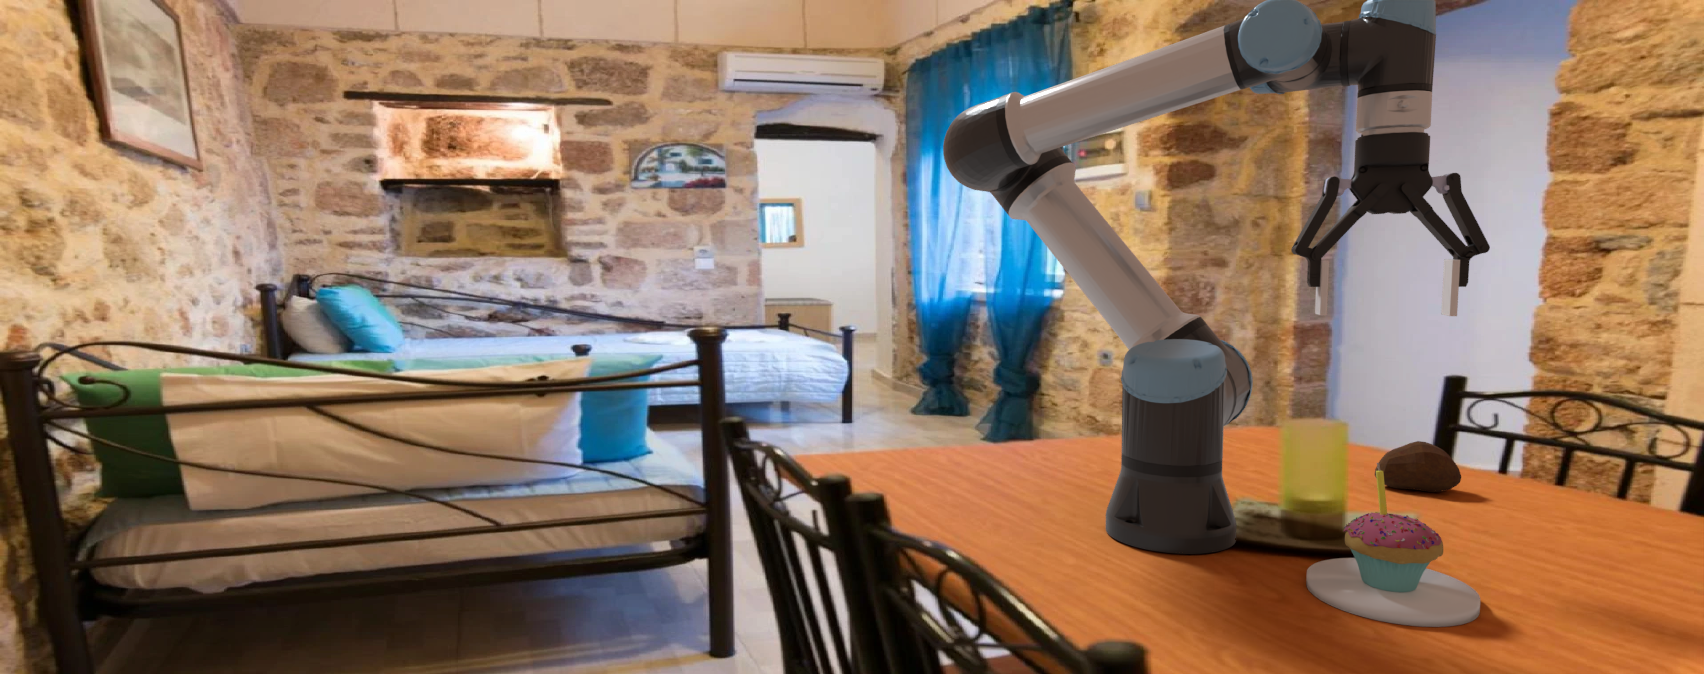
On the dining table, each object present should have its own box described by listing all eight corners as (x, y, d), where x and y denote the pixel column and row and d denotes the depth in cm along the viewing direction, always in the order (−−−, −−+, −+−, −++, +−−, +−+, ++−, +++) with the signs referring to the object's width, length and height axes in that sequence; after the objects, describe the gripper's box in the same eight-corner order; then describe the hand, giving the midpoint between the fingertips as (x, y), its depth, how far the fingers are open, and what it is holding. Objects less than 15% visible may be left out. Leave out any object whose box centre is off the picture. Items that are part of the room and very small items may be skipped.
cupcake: (1322, 575, 93) (1327, 461, 92) (1381, 563, 96) (1387, 453, 95) (1400, 605, 85) (1407, 482, 84) (1461, 592, 88) (1468, 472, 87)
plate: (1325, 617, 86) (1325, 605, 85) (1292, 563, 100) (1293, 552, 100) (1507, 633, 82) (1508, 621, 81) (1446, 574, 96) (1447, 563, 96)
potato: (1369, 480, 134) (1371, 434, 133) (1450, 485, 130) (1453, 438, 130) (1379, 492, 127) (1381, 444, 126) (1465, 498, 124) (1468, 449, 123)
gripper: (1281, 135, 105) (1275, 316, 107) (1531, 124, 98) (1519, 318, 100) (1270, 141, 112) (1264, 311, 114) (1502, 132, 105) (1491, 313, 107)
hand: (1383, 315), depth 107 cm, fingers open, 13 cm apart
